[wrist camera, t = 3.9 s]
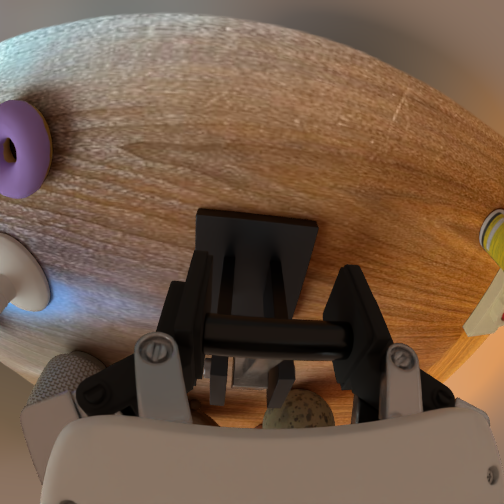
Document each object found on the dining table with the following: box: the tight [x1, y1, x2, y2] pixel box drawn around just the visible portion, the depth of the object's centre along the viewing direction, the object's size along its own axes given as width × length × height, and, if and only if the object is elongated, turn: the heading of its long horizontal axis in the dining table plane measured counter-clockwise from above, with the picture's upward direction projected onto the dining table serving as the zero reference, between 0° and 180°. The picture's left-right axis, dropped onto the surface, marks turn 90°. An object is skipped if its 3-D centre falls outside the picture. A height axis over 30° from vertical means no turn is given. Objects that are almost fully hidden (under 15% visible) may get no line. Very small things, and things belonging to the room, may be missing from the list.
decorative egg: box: [262, 389, 335, 429], centre depth 35 cm, size 11×11×15 cm
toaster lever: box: [202, 312, 354, 390], centre depth 14 cm, size 12×5×2 cm, turn 173°
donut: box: [0, 100, 53, 198], centre depth 17 cm, size 10×9×5 cm
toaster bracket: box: [195, 209, 319, 408], centre depth 22 cm, size 12×10×13 cm
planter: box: [26, 351, 106, 406], centre depth 33 cm, size 14×14×13 cm
